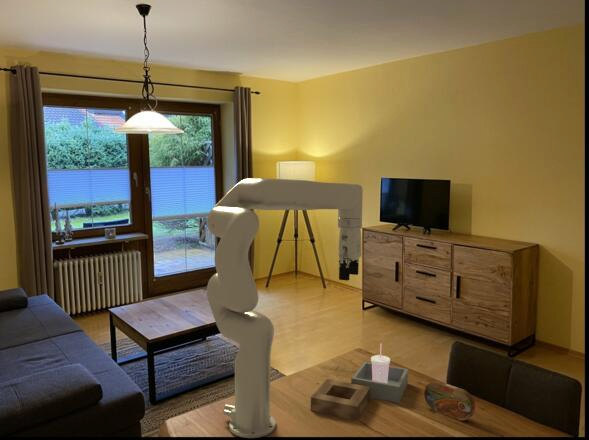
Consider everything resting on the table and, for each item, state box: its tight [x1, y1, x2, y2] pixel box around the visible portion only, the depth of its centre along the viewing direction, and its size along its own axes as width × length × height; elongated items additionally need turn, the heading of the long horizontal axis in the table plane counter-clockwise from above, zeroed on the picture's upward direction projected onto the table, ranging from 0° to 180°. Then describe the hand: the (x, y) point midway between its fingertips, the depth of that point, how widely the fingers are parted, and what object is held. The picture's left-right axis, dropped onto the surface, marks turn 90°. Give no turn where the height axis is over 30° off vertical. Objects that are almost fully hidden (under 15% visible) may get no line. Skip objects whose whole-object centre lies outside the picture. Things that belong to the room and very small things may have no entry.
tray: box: [350, 361, 409, 404], centre depth 153 cm, size 15×15×5 cm
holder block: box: [310, 378, 371, 421], centre depth 142 cm, size 14×14×4 cm
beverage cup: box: [370, 342, 391, 383], centre depth 152 cm, size 6×6×14 cm
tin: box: [423, 381, 476, 422], centre depth 137 cm, size 15×3×8 cm, turn 42°
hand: (348, 277), depth 151 cm, fingers open, 9 cm apart
